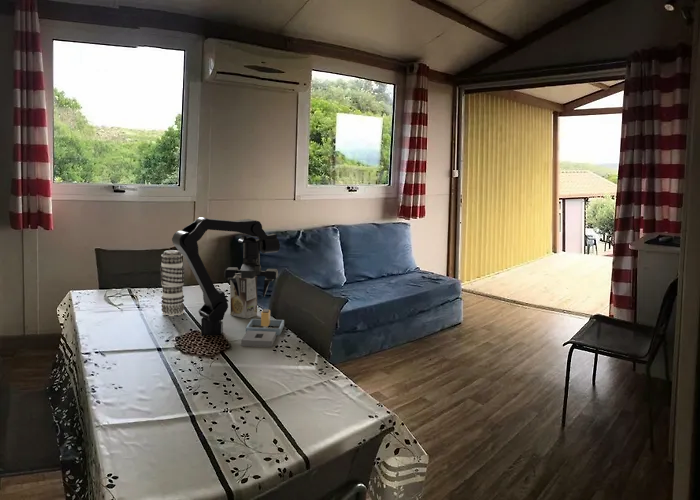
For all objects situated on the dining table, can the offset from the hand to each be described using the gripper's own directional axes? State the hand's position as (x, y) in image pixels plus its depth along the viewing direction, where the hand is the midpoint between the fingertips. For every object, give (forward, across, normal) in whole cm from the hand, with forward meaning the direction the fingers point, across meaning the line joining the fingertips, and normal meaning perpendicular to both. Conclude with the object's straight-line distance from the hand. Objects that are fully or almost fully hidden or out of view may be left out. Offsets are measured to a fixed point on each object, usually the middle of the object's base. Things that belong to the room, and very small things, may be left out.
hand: (251, 296), depth 197 cm
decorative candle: (+12, -34, +15) cm, 39 cm away
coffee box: (+12, -6, +16) cm, 21 cm away
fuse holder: (+12, +6, -17) cm, 22 cm away
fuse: (+11, +6, -4) cm, 13 cm away
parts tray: (+12, +6, -4) cm, 14 cm away
